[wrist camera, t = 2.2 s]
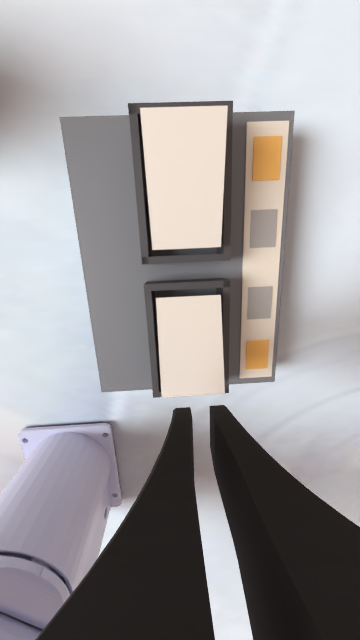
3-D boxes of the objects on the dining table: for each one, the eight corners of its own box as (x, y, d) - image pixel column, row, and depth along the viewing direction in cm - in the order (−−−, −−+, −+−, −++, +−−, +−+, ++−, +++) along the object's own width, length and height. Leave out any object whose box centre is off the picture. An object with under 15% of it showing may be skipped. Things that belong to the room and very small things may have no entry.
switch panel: (261, 366, 19) (287, 396, 15) (110, 375, 19) (93, 408, 15) (274, 135, 15) (315, 84, 11) (78, 141, 14) (39, 91, 10)
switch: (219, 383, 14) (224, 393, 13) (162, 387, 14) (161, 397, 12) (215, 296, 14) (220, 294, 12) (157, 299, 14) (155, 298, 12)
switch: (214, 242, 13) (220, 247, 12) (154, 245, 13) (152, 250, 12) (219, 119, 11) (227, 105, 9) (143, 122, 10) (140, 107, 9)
